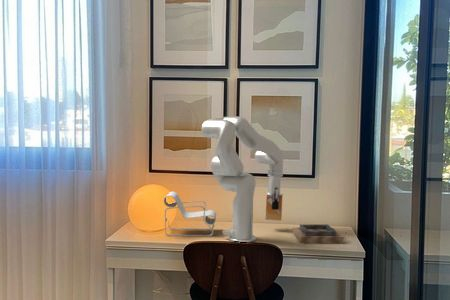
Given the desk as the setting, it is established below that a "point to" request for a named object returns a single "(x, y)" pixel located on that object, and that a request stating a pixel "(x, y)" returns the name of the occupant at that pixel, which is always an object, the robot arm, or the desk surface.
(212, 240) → the desk surface
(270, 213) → the small box
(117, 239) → the desk surface
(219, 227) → the desk surface
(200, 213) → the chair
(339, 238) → the display stand
